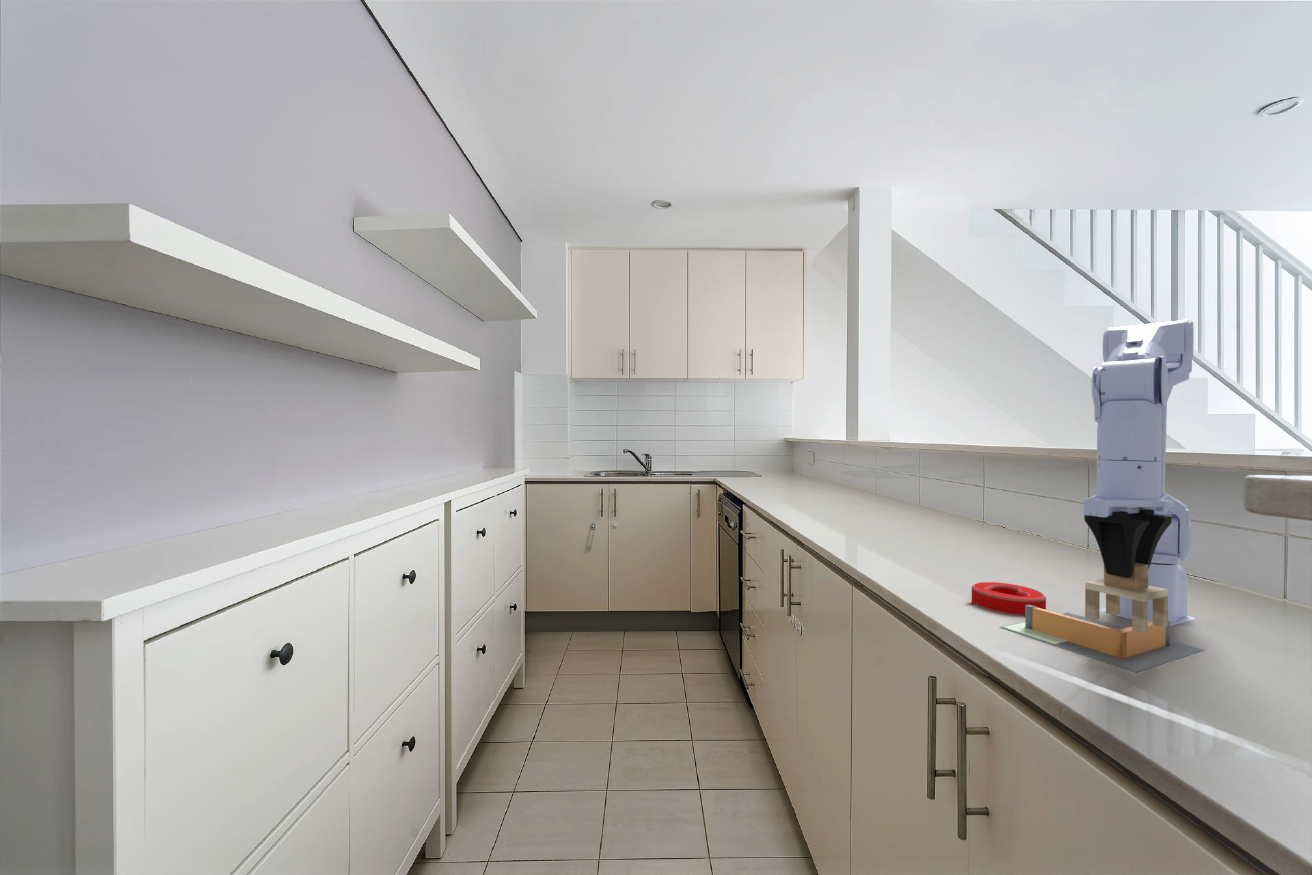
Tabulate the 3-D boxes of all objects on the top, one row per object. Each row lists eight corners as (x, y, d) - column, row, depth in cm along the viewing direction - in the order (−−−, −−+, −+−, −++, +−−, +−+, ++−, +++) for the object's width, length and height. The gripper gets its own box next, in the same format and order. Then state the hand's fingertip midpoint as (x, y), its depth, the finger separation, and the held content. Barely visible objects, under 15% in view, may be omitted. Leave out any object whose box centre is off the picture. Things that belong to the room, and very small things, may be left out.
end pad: (1031, 621, 74) (1031, 620, 74) (1084, 637, 68) (1084, 636, 68) (1003, 627, 72) (1003, 626, 72) (1055, 644, 66) (1055, 643, 66)
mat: (1067, 616, 78) (1067, 612, 78) (1204, 654, 65) (1204, 649, 65) (999, 631, 72) (999, 627, 72) (1136, 677, 58) (1136, 672, 58)
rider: (1110, 611, 66) (1110, 556, 67) (1167, 625, 61) (1168, 566, 61) (1085, 617, 64) (1085, 559, 64) (1143, 632, 59) (1143, 570, 59)
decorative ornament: (957, 602, 86) (957, 582, 86) (1007, 599, 88) (1008, 580, 88) (1007, 622, 76) (1007, 600, 76) (1062, 618, 78) (1062, 597, 78)
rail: (1070, 616, 76) (1071, 596, 76) (1171, 644, 66) (1171, 621, 66) (1023, 627, 72) (1023, 605, 72) (1124, 659, 61) (1124, 633, 61)
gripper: (1138, 462, 56) (1136, 589, 56) (1202, 461, 62) (1200, 576, 62) (1063, 459, 63) (1062, 573, 62) (1128, 459, 69) (1127, 563, 69)
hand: (1126, 574), depth 63 cm, fingers closed on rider, 3 cm apart
